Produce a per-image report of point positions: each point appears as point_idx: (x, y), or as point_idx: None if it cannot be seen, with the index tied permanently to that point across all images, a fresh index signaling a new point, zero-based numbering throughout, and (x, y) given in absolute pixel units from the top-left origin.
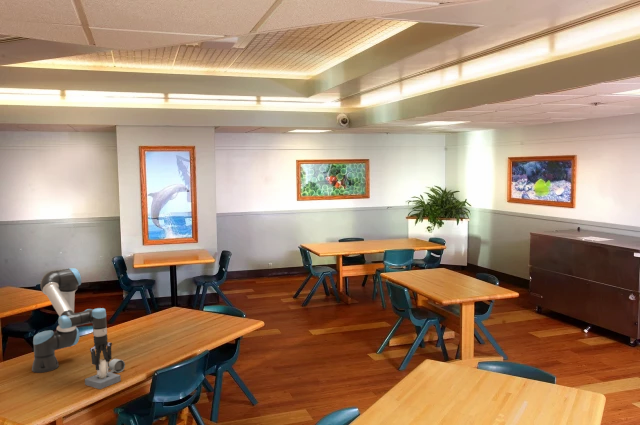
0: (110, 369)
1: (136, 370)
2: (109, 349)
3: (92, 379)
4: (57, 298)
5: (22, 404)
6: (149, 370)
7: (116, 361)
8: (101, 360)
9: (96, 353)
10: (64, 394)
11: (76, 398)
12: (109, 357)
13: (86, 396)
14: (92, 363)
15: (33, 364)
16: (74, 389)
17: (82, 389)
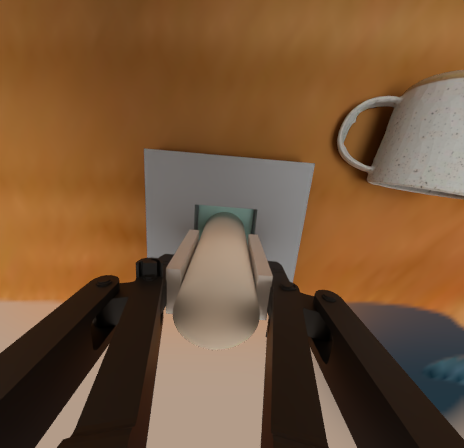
0: (390, 117)
1: (431, 251)
2: None
3: (165, 208)
4: None
5: None
6: (441, 310)
7: (443, 183)
8: (214, 309)
9: (83, 425)
10: (11, 161)
11: (32, 264)
12: (313, 347)
13: (74, 286)
14: (90, 288)
15: None
16: (82, 151)
17: (109, 196)
